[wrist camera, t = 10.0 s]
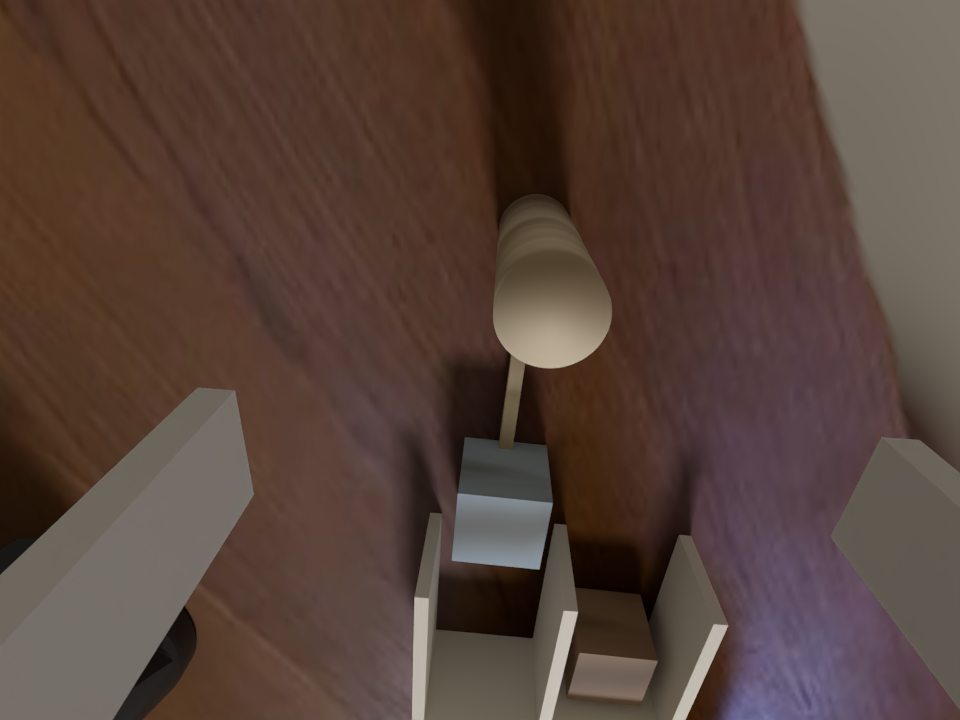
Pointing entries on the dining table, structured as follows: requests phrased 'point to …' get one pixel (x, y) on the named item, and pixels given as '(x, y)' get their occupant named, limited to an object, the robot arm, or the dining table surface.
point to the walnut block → (609, 649)
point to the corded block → (535, 341)
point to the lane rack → (559, 647)
